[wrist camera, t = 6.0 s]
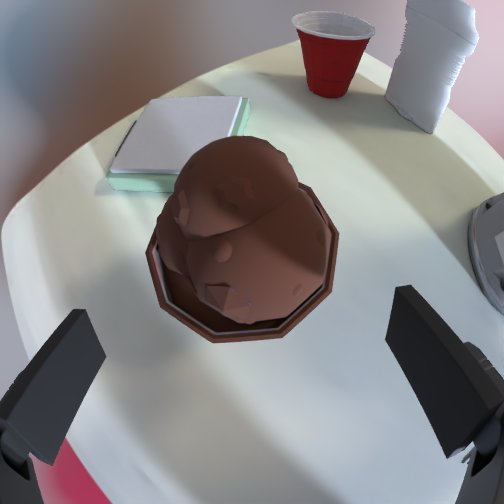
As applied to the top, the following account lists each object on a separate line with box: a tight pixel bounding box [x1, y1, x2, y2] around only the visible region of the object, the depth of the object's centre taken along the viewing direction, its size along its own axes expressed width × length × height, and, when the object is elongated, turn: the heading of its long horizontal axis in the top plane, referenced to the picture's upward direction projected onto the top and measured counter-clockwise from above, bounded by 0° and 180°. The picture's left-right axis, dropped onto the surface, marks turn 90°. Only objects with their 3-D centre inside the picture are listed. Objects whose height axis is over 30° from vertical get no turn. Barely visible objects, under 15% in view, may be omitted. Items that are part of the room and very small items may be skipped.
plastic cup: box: [291, 11, 375, 98], centre depth 29 cm, size 11×11×12 cm
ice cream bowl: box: [145, 135, 339, 343], centre depth 17 cm, size 11×11×15 cm
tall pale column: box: [385, 0, 479, 134], centre depth 22 cm, size 11×4×22 cm, turn 32°
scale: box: [106, 96, 250, 193], centre depth 30 cm, size 15×14×3 cm
